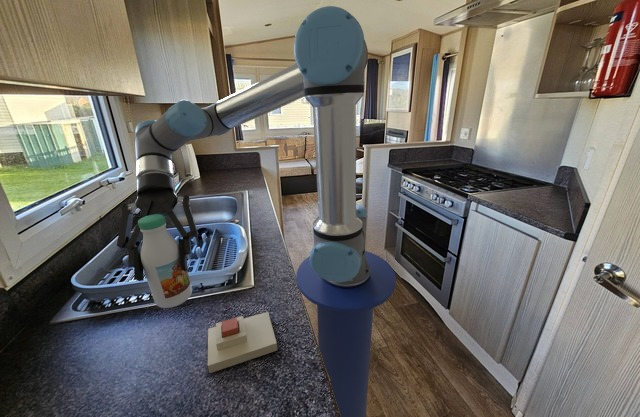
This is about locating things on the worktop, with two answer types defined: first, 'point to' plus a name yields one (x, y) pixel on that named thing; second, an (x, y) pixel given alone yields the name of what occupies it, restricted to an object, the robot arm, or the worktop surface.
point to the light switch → (240, 342)
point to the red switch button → (229, 327)
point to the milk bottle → (163, 263)
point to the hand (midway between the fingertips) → (162, 274)
